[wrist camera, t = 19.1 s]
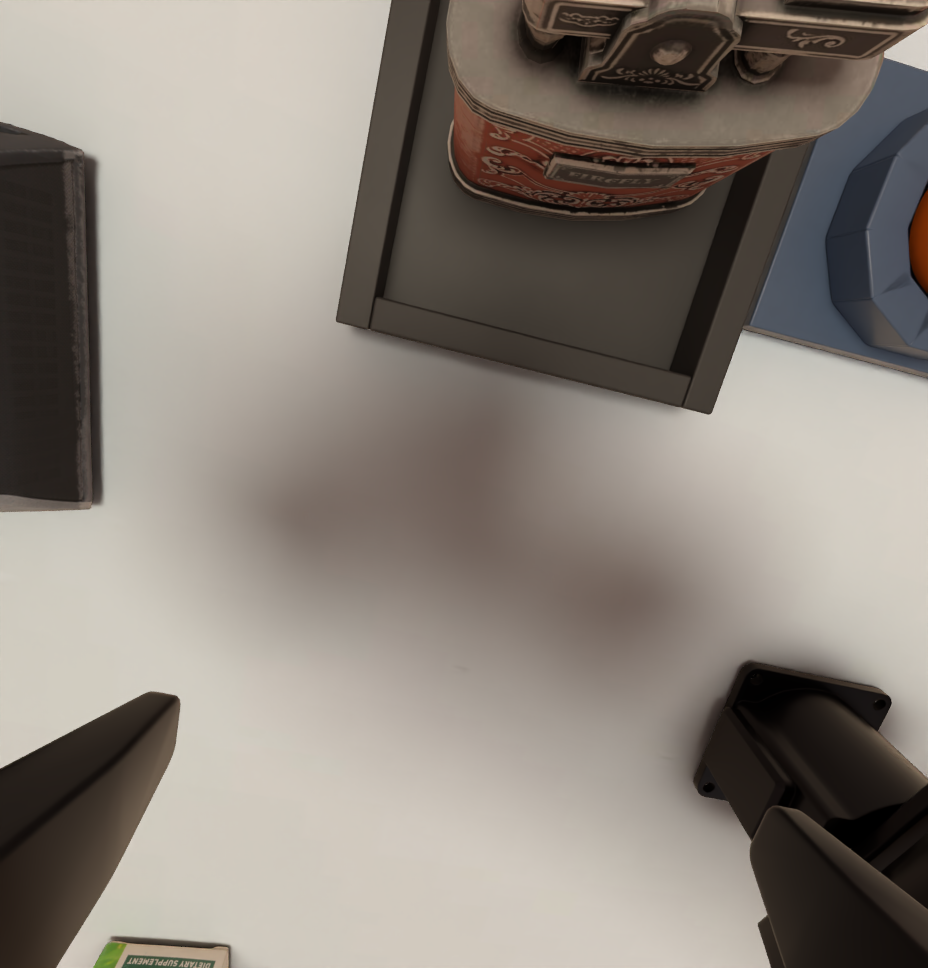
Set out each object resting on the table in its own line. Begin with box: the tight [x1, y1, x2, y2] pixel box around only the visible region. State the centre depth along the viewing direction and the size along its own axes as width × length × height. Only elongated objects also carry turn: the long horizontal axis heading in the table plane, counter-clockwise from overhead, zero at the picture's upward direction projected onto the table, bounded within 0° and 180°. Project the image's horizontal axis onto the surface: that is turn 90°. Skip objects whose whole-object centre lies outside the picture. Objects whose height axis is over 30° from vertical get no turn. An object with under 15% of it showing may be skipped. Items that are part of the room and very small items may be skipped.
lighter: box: [446, 0, 928, 221], centre depth 12 cm, size 8×3×10 cm, turn 86°
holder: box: [336, 0, 810, 414], centre depth 16 cm, size 12×13×2 cm
